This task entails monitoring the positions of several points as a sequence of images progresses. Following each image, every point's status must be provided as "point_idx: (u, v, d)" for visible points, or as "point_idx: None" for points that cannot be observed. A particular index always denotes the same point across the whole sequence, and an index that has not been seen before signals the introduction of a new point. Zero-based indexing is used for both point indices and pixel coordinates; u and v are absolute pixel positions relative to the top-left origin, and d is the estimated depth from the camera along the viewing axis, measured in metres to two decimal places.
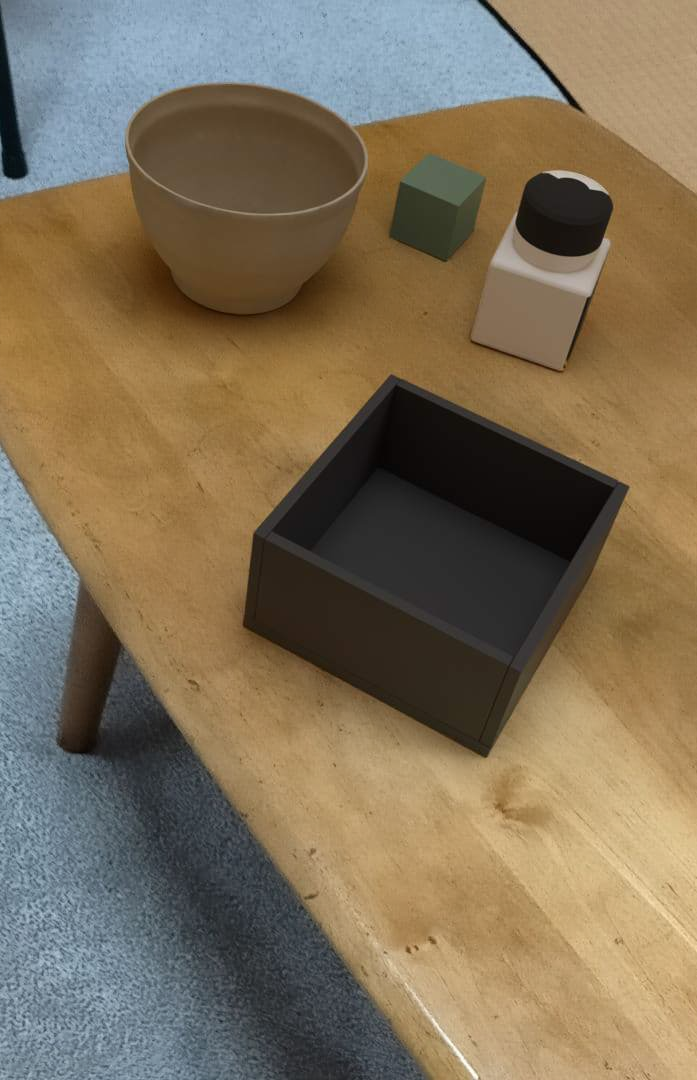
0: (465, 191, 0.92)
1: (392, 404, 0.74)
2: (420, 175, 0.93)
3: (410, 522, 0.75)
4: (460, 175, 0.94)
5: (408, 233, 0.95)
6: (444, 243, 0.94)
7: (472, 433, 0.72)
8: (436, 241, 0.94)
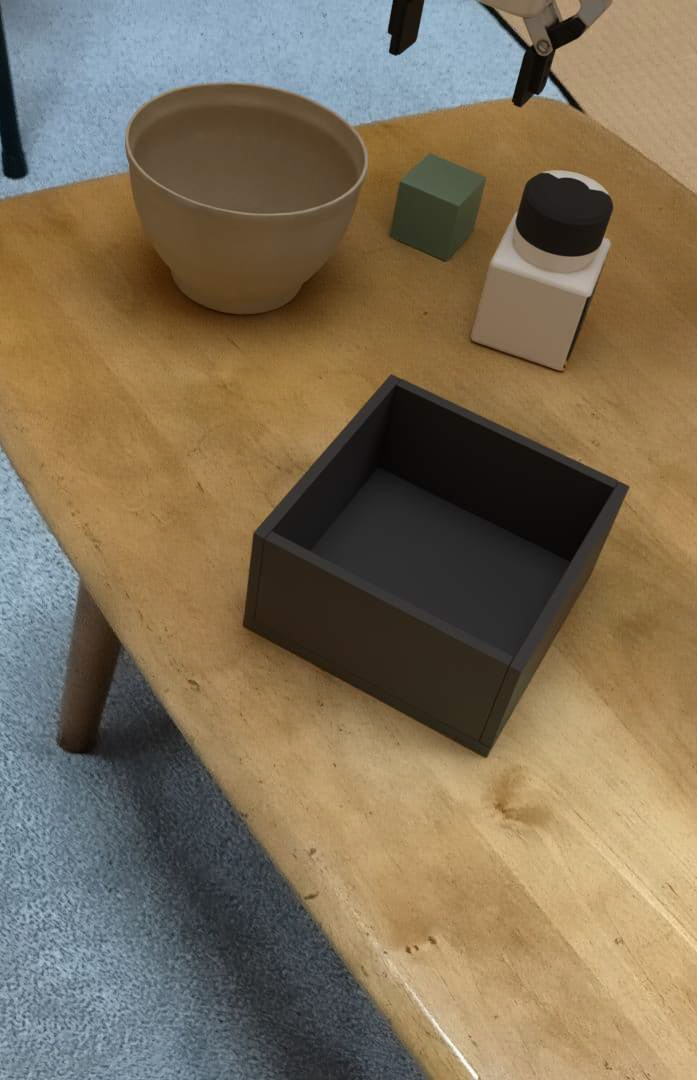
0: (465, 191, 0.92)
1: (392, 404, 0.74)
2: (420, 175, 0.93)
3: (410, 522, 0.75)
4: (460, 175, 0.94)
5: (408, 233, 0.95)
6: (444, 243, 0.94)
7: (472, 433, 0.72)
8: (436, 241, 0.94)
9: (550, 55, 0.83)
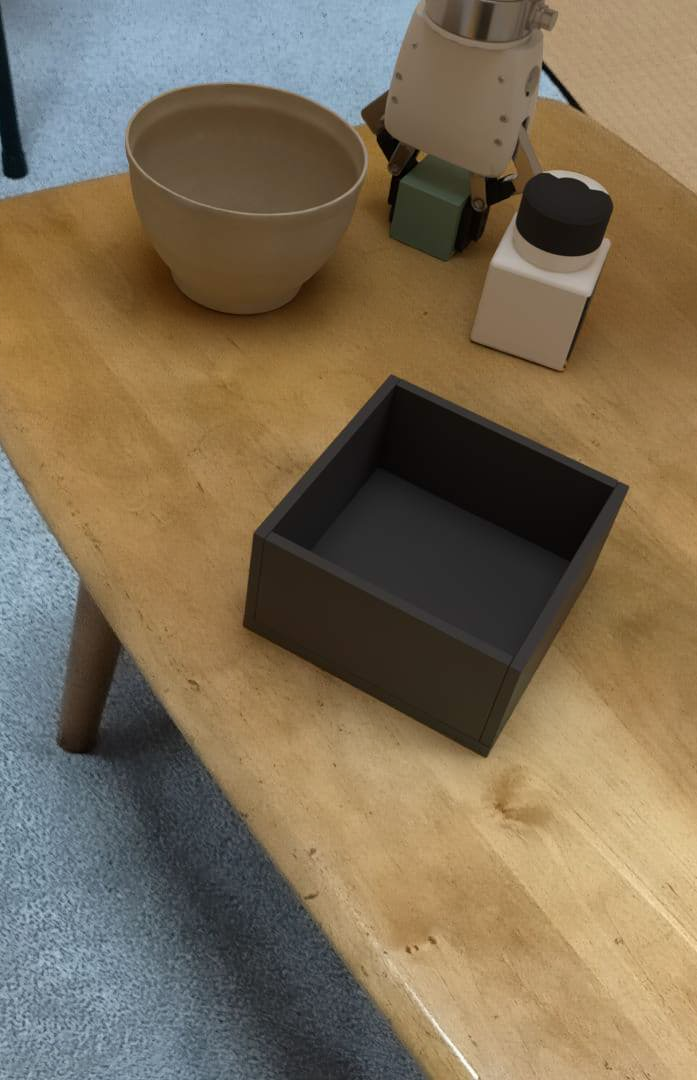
0: (465, 191, 0.92)
1: (392, 404, 0.74)
2: (420, 175, 0.93)
3: (410, 522, 0.75)
4: (460, 175, 0.94)
5: (408, 233, 0.95)
6: (444, 243, 0.94)
7: (472, 433, 0.72)
8: (436, 241, 0.94)
9: (486, 209, 0.93)
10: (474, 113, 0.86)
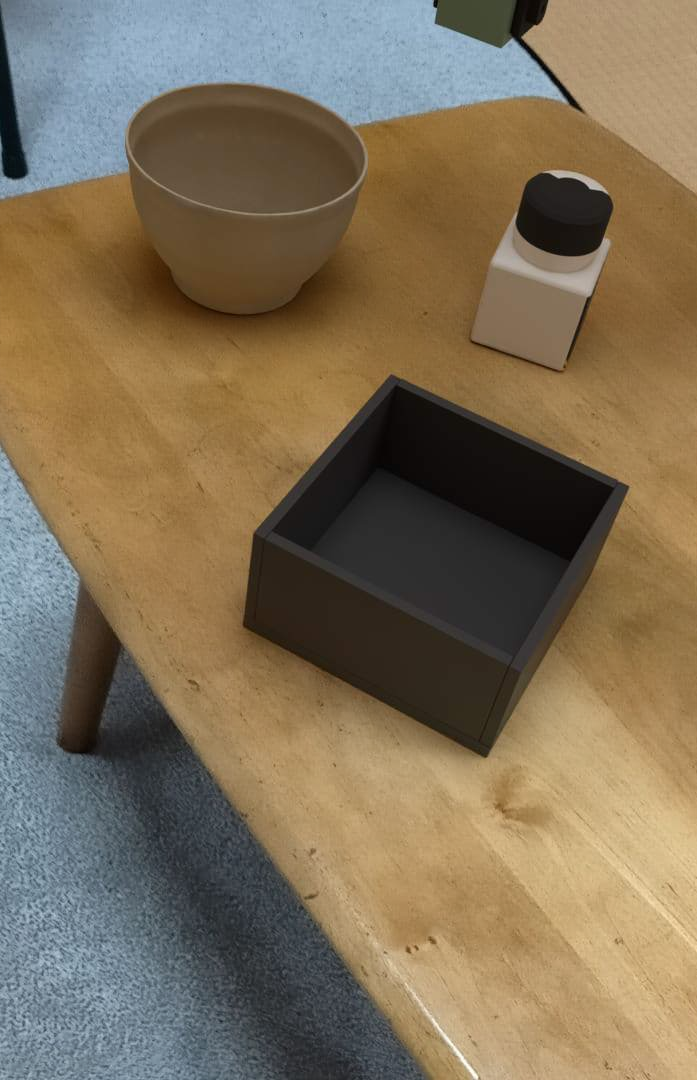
0: None
1: (392, 404, 0.74)
2: None
3: (410, 522, 0.75)
4: None
5: (456, 16, 0.81)
6: (499, 25, 0.80)
7: (472, 433, 0.72)
8: (490, 22, 0.81)
9: None
10: None
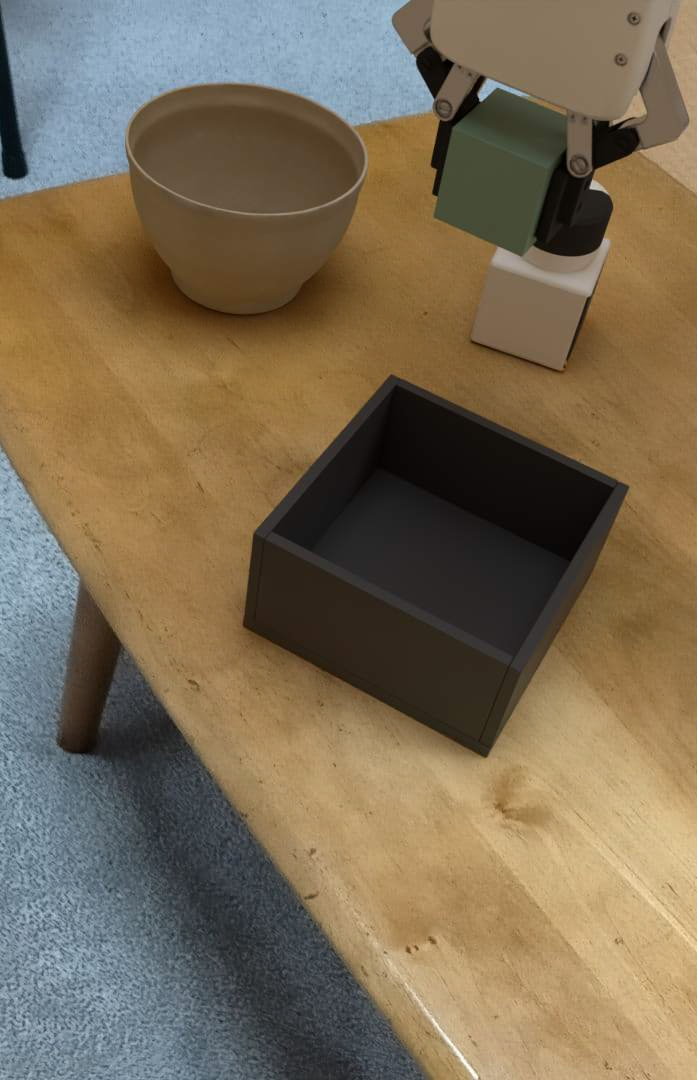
0: (556, 145, 0.58)
1: (392, 404, 0.74)
2: (484, 119, 0.59)
3: (410, 522, 0.75)
4: (547, 121, 0.59)
5: (463, 212, 0.61)
6: (520, 228, 0.59)
7: (472, 433, 0.72)
8: (508, 224, 0.60)
9: (589, 175, 0.59)
10: (583, 9, 0.51)
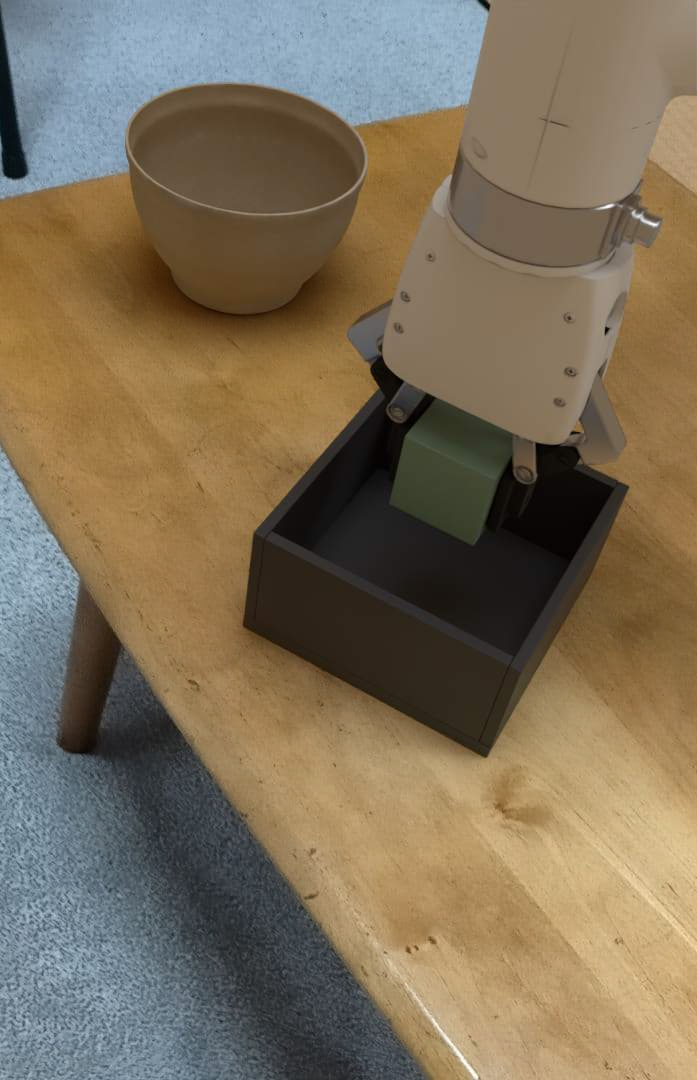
0: (503, 450, 0.61)
1: None
2: (435, 424, 0.62)
3: (410, 522, 0.75)
4: None
5: (417, 503, 0.64)
6: (471, 523, 0.63)
7: None
8: (459, 518, 0.63)
9: None
10: (523, 360, 0.55)
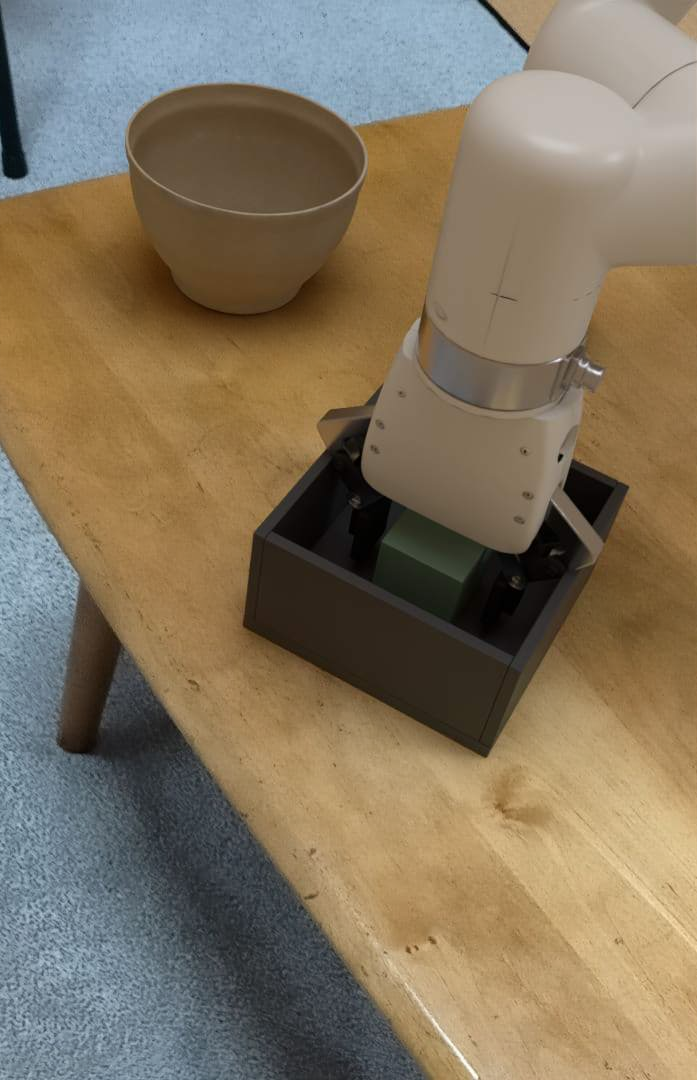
0: (471, 554, 0.67)
1: None
2: (409, 529, 0.68)
3: None
4: None
5: None
6: (442, 618, 0.69)
7: None
8: (432, 613, 0.69)
9: None
10: (486, 484, 0.61)
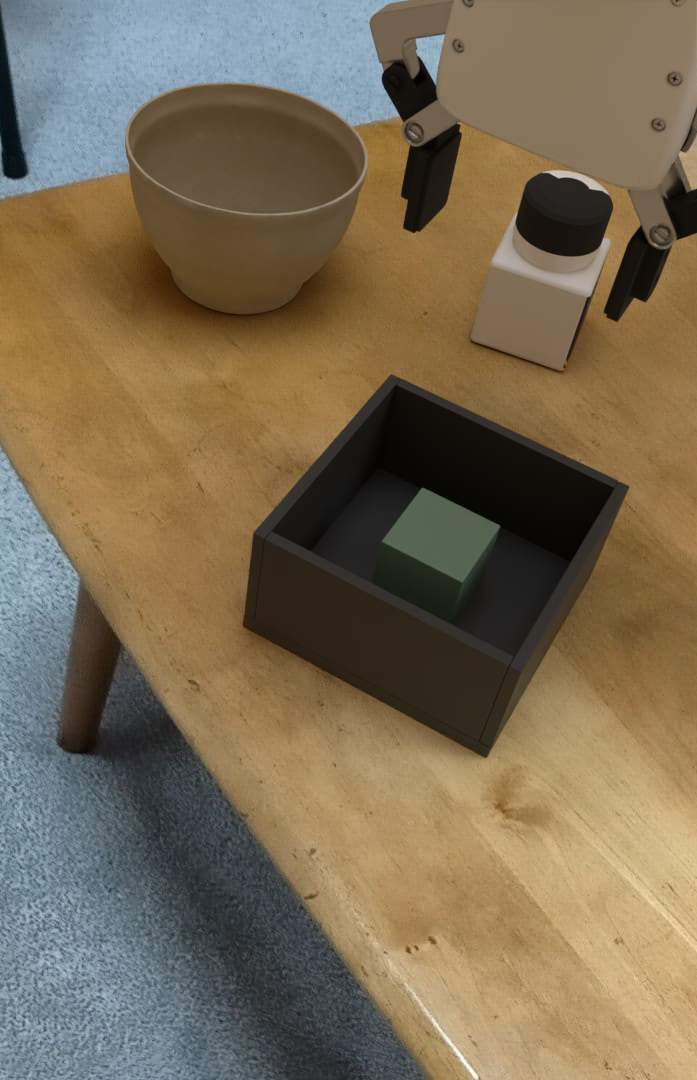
0: (471, 554, 0.67)
1: (392, 404, 0.74)
2: (409, 529, 0.68)
3: None
4: (464, 525, 0.69)
5: None
6: (442, 618, 0.69)
7: (472, 433, 0.72)
8: (432, 613, 0.69)
9: None
10: (615, 68, 0.44)
